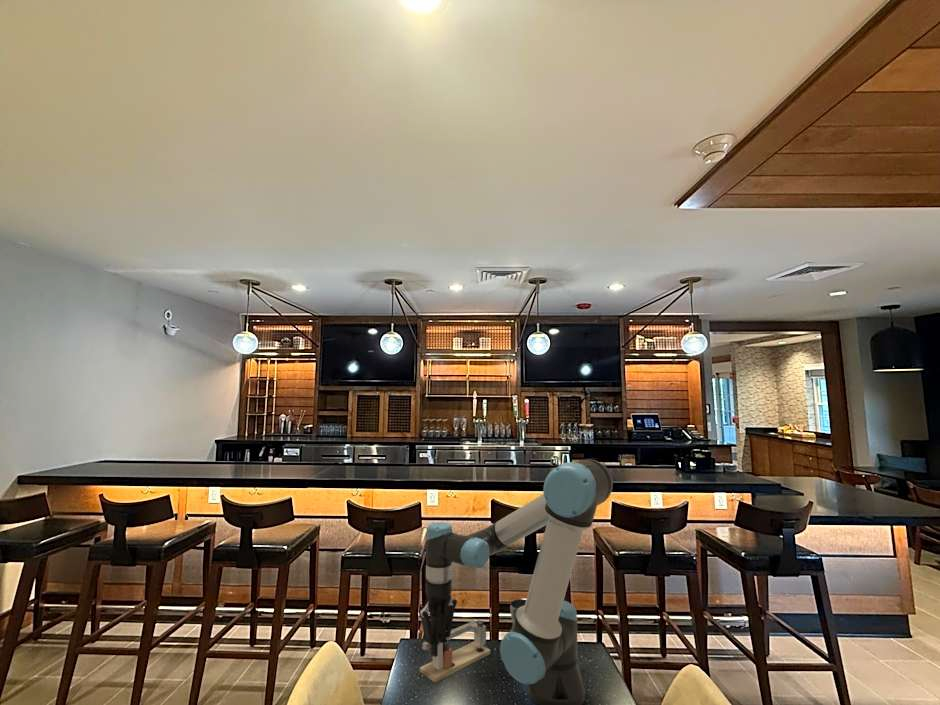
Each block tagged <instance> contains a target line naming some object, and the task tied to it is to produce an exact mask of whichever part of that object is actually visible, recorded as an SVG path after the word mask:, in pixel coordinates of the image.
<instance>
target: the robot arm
mask: <svg viewBox="0 0 940 705" xmlns="http://www.w3.org/2000/svg"><path fill="white" fill-rule="evenodd" d="M613 484H614V482H613V478H612V475H611V472H610V471H609V469H608V467H607V466H605V465H604V464H603V463H601V462H600V461H598V460H595V459H592V458H591V459H589V458H586V459H581V460H577V461H571V462H570V461H568V462H565V463H562V464H559V465H558V466H556V467H555V468H553V469H552V470H551V471H550V472H549V473H548V474H547V475H546V478H545V480H544V484H543V494H541V495H539V496H538V497H536V498H534V499H533V500H531V501H529V502H528V503H527V502H526V504H524V505H523V506H521V507H520V508H518V509H516V510H514V511H513V512H511V513H509V514H507V515H505V517H502V518H500V520H498V521H496V522H493V523H492V524H490V525H489V526H487V527H486V528H483V529H481V530H477V531H475V532H472V533H470V534H467V535H463V534H457V533H454V532H453V526H452V524H450V523H449V522H443V521H440V522H432V523H430V524H429V525H428V526H427V528H426V536H425V537H426V538H425V543H426V544H425V545H426V546H425V550H426V552H425V553H426V555H425V558H426V559H425V595H426V600H425V606H423V608H422V609H419V610H418V611H417V612H418V615H419V616H420V620H421V625H422V630H423V634H424V642H427V643H429V644H431V648H430V654H431V656H432V661H433V666H434V667H435V668H437V669H438V670H439V669H441V668H443V653H444V643H446V642H448V641H447V639H446V638H447V637H450V633H451V630H452V626H453V620H454V614H455V609H456V606H457V604H458V600H457V599H455V598H452V595H451V594H452V577H453V574H452V570H453V569H452V567H453V566H452V565H453V564H458V565H462V566H465V567H467V568H471V569H472V568H474V569H482V568H484V567H485V565H486V563H488V561H489V559H490V556H493V555H494V554H497V553H500V552H502V551H504V550H505V549H506V548H508V547H509V546H511V545H513V544H515V543H516V542H518V541H520V540H522V539H524V538H526V537H527V536H529V535H531V534H533V533H534V532H537V531H538V530H539V529H542V528H543V527H545V530H544V533H543V534H544V535H543V536H542V541H541V545H540V549H539V552H538V556H537V559H536V562H535V567H534V570H533V574H532V578H531V580H530V581H531V582H530V584H529V589H528V593H527V596H526V598H525V599H526V602H525V605H524V606H521V607H520V608H518V610H517V612H516V616H515V619H514V623H513V622H512V627H511V629H510V631H509V632H506V633H505V635H504V637H503V638H502V639H501V641H500V647H499V652H500V658H501V661H502V663H503V664H504V668H505V669H506V671H507V672H508V674H509V675H510V676H511V677H512V678H513V679H514V680H516V681H517V682H519V683H521V684H524V685H527V693H528V697H529V698H530V700H532V701H533V702H534V703H535V704H537V705H583V704H584V702H585V700H586V689H585V683H584V681H583V678H582V674H581V671H580V668H579V663H578V662H579V661H578V660H579V659H578V621H579V620H578V615H577V609H576V606H574V605H573V604H572V603H570V602H569V601H567V600H565V597H566V592H567V589H568V587H569V583H570V579H571V575H572V572H573V568H574V565H575V562H576V557H577V554H578V550H579V546H580V542H581V540H582V537H583V533H584V531H585V530H588V529H590V528H591V527H592V525H593V521H594V518H595V515H596V511H597V508H598V506H599V505H601V504H603V503H605V501H607V500H608V499H609V498H610V495H611V494H612V491H613V487H614V485H613ZM452 563H453V564H452Z"/></svg>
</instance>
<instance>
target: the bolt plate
mask: <svg viewBox="0 0 940 705" xmlns="http://www.w3.org/2000/svg"><path fill="white" fill-rule="evenodd" d="M489 655H491V649H490V648H488V647H486V646H485V645H483V646H482V650H481V651H479V646H477V645H476V644H474V641H472V642H470V643H468V644H466V645H463V646H462V647H460V648H458V649H455V650H452V666H450V667H448V668H446V669H445V668H441V669H439V670H438V669H437V668H435V667H434V666H433V660H432V661H430V662H428V663H426V664H424V665H422V666H420V667H419V673H420V674H422V675H423V676H424V677H426V678H428V679H429V680H430V681H432V682H434V683H438V682H440V681H441V680H443V679H445V678H447V677H449V676H452V675H453V674H455V673H457V672H458V671H461V670H463V669H464V668H466V667H468V666H470V665H472V664H473V663H475V662H478V661H479V660H481V659H483V658H485V657H487V656H489Z"/></svg>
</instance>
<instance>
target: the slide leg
mask: <svg viewBox="0 0 940 705" xmlns="http://www.w3.org/2000/svg"><path fill="white" fill-rule="evenodd" d="M452 652H453V648H451V647H450V643H449V642H448V641H447V642H446V643H444V653H443V668H445V669H446V668H448V667H450V666H452Z"/></svg>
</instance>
